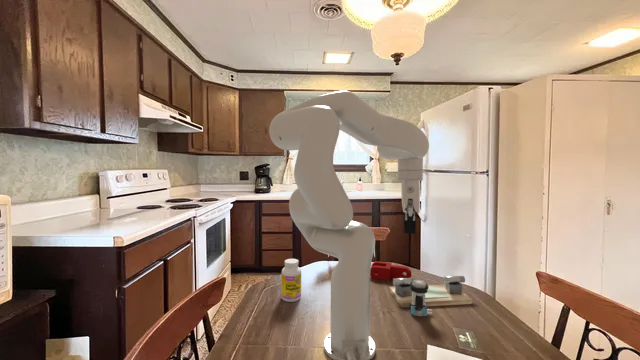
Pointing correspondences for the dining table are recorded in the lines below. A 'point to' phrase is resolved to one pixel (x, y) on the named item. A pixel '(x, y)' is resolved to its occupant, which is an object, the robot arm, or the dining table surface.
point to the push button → (419, 298)
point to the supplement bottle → (291, 281)
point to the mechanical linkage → (388, 271)
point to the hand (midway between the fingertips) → (409, 229)
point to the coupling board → (434, 297)
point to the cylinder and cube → (451, 281)
